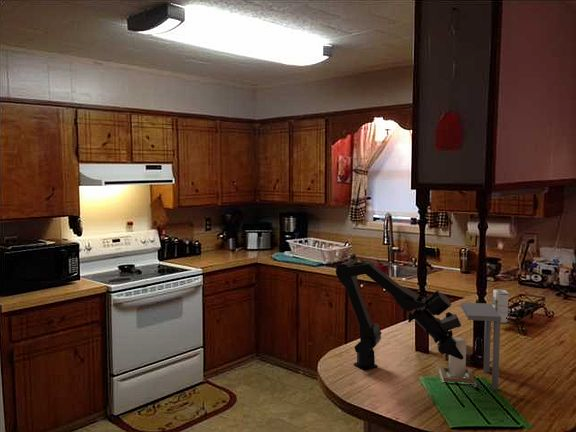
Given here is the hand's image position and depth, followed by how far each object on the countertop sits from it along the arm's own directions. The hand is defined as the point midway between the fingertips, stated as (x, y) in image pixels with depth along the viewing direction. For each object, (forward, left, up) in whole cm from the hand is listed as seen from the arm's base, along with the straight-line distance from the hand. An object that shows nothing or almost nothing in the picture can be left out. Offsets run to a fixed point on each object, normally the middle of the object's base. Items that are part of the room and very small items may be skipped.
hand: (461, 355), depth 176 cm
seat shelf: (+1, +2, -8) cm, 8 cm away
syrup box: (-36, +66, -8) cm, 76 cm away
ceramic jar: (-1, -1, -7) cm, 7 cm away
